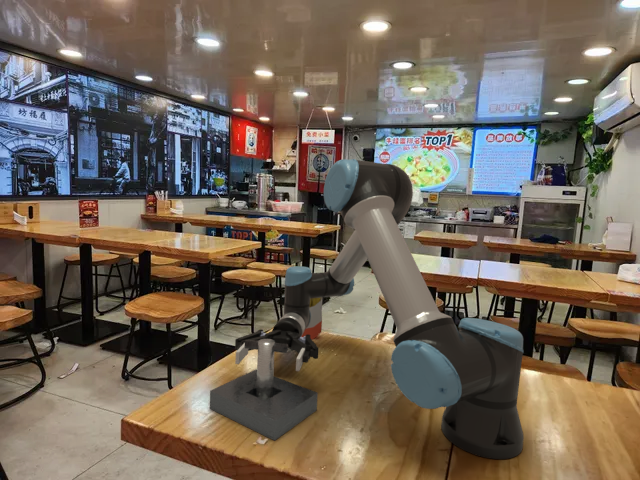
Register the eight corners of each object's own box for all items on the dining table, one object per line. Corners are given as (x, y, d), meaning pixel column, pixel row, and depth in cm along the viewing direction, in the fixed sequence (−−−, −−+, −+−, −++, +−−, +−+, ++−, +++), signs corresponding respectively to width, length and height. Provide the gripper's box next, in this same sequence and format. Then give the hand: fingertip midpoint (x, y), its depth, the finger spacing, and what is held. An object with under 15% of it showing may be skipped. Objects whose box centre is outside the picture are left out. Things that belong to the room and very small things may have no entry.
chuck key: (286, 407, 86) (289, 341, 85) (282, 416, 83) (285, 346, 81) (246, 402, 88) (248, 336, 86) (240, 410, 84) (243, 342, 83)
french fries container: (321, 340, 129) (324, 285, 128) (287, 339, 128) (290, 284, 126) (319, 335, 134) (322, 282, 132) (287, 334, 133) (289, 281, 131)
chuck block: (316, 410, 86) (317, 392, 86) (274, 440, 74) (275, 420, 74) (255, 385, 96) (255, 369, 96) (209, 408, 84) (210, 390, 84)
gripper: (333, 348, 106) (322, 384, 85) (243, 339, 110) (212, 371, 89) (335, 321, 105) (324, 350, 84) (244, 312, 109) (213, 338, 88)
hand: (267, 361), depth 87 cm, fingers open, 13 cm apart
